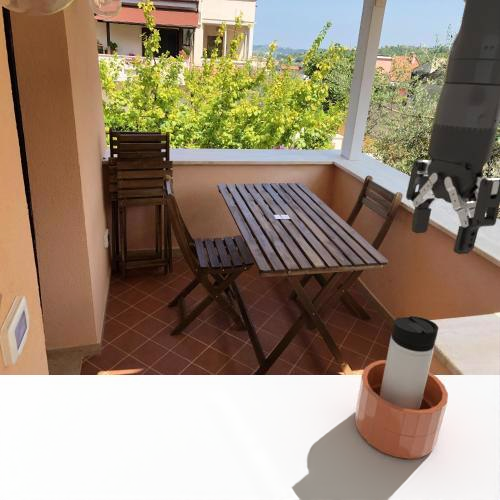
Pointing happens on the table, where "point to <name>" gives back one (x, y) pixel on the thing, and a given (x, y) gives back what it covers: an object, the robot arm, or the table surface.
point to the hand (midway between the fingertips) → (438, 241)
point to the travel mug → (408, 361)
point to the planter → (399, 416)
